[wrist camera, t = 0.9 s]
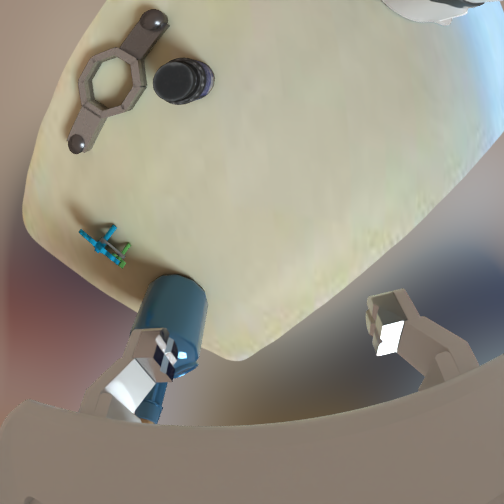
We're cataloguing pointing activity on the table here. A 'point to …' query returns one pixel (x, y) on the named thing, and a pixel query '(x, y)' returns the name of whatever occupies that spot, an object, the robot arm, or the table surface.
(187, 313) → the wine bottle
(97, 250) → the blue jointed connector toy
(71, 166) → the table surface
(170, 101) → the pill bottle
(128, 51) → the octagon ring handle
